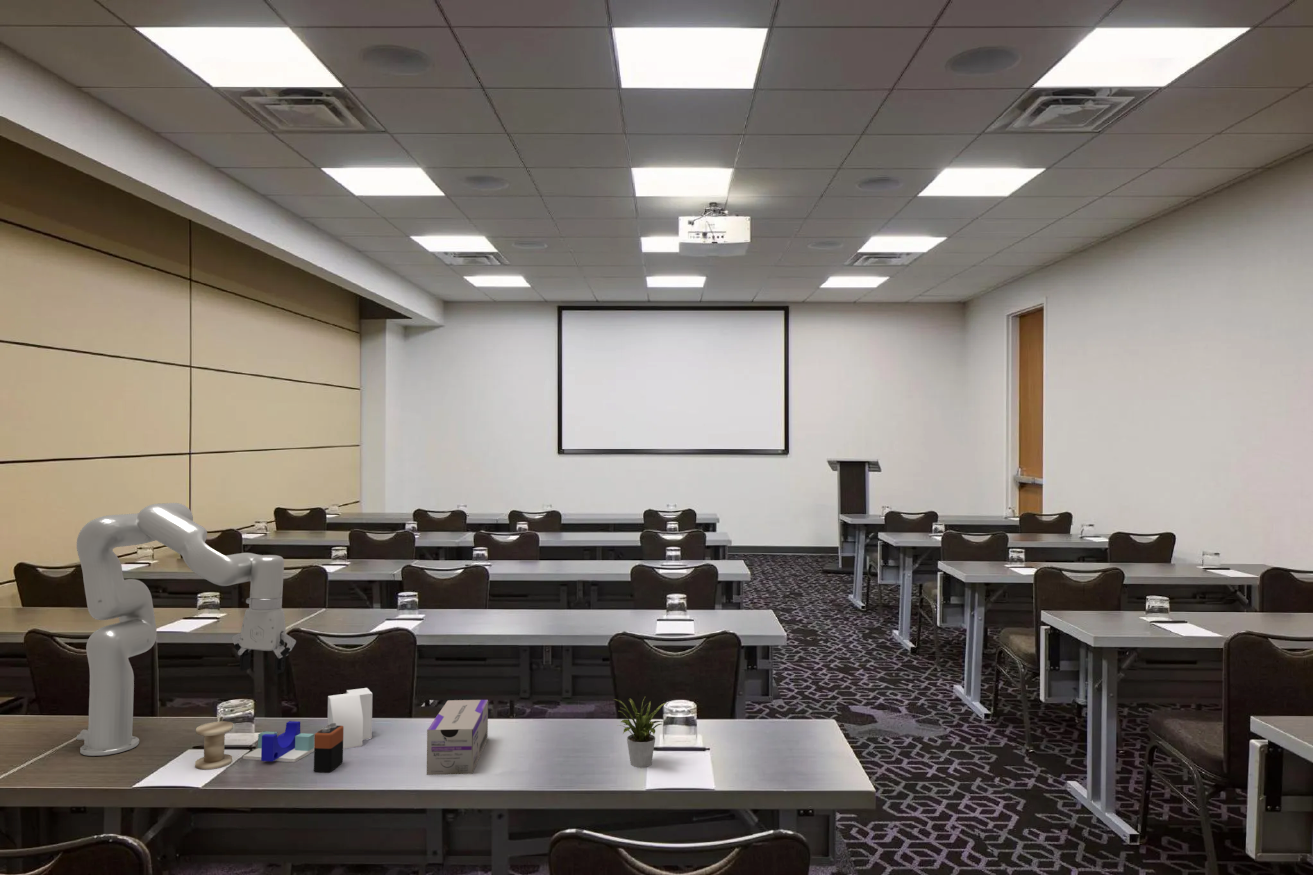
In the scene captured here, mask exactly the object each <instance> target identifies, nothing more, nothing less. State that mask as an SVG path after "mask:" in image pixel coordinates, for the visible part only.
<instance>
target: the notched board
mask: <svg viewBox="0 0 1313 875" xmlns="http://www.w3.org/2000/svg"><path fill="white" fill-rule="evenodd" d="M265 734H276V735H277V736H278V731H269V730H268V731H266V730H264V731H262V732H260V733H258V736H257V748H256V749H254V750H251V751H250V752H248V753H246V754H244V755H243V756H242V758H243V760H251V761H261V750H262V736H263V735H265ZM314 737H315V733H304V732H300V734H298V735H297V736H295V748H294V749H293V750H291V751H289V752H288V753H286V754H284V755H283V756H281V757H279V758H278V759H276V760H274V761H273V762H283V763H284V762H285V763H296V762H298V761H299V760H302V759H303V758H304V757H307V756H308V755H310V754H311V753H314Z"/></svg>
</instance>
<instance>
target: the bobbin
mask: <svg viewBox="0 0 1313 875" xmlns="http://www.w3.org/2000/svg"><path fill="white" fill-rule="evenodd" d="M233 729H234V723H233V722H231V721H213V722H208V723H204V724H201V725H198V726H197V727H196V729H195V735H197V736H203V756H202V757H200V758H199V759H196V760H195V762H194V768H195V769H197V770H205V771H206V770H216V769H220V768H224V767H227V766H229V765H231V764H232V763H233V756H232V754H228V753H225V740H226V737H225V736H226V733H229V732H231V731H232V730H233Z"/></svg>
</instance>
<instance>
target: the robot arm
mask: <svg viewBox="0 0 1313 875" xmlns="http://www.w3.org/2000/svg"><path fill="white" fill-rule="evenodd" d="M193 515H194V514H193V513H192V510H191V509H190V508H189V507H187V506H186V505H185V504H182V503H179V502H169V503H168V502H166V503H154V504H149V505H147V506H144V508H142V509H141V510H140V511H139V512H137V513H125V514H123V513H122V514H109V515H103V516H99V517H95V518H94V519H92V520H90V521H89V522H87V523H85V525H83V527H82V528H81V530H80V532H79V533H78V536H77V537H76V538H77V539H76V552H77V556H78V559H79V562H80V566H81V567H80V568H81V570H82V577H83V579H82V580H83V585H84V594H85V598H86V605H87V610H88V613H89V615H90V616H91V618H93V619H95V620H97V621H107V620H114V619H117V618H118V620H119V622H115V623H113V624H109V625H105V626H102V627H100V628H98V629H97V630H95V631H94V632H92V634H90V636H89V638H88V640H87V642H86V646H85V648H86V649H85V650H86V656H87V662H88V667H89V698H88V726H87V728H88V729H82V730H81V731H80V732H79V733H78V734H77V736H76V740H78V741H84V742H83V743H84V744H83V745H82V746H80V751H79V752H80V754H81V755H84V756H89V757H95V756H97V757H98V756H109V755H114V754H119V753H123V752H125V751H129V750H132V749H134V748H135V747H137V746H138V745H139V743H140V739H139V737H137V736H133V727H134V726H133V722H134V721H133V719H134V694H135V692H134V690H135V689H134V688H135V684H134V683H135V682H134V681H135V675H134V670H133V668H132V665H131V662H130V660H129V658H132V657H135V656H138V655H141V654H143V653H146V652H147V651H149V650H150V649H152V647H153V646H154V645H155V642H156V641H157V630H158V629H157V624H156V617H155V610H154V609H155V608H154V605H153V603H154V602H153V598H152V594H151V591H150V590H149V587H148V586H147V585H146V584H145V583H144V582H143V581H141V580H139V579H135V578H132V579H131V578H128V579H125V578H124V574H123V566H122V563H121V561H120V559H119V557H118V556H117V554H116V553H115V552H114V551H113V550H114V549H115V548H121V547H122V548H124V547H129V546H138V545H145V544H147V543H153V542H156V541H157V542H158V543H160V544H162V545H163V546H166V547H167V548H168V549H171V550H172V551H174V552H175V553H176V554H179V556H182V559H183V561H184V563H185V564H186V566H187V567H188V568H189V569H190V570H191V571H192V572H193V573H195V574H196V575H197V576H200V577H201V578H203V579H204V580H207V582H210V583H212V584H214V585H217V586H220V587H227V586H232V585H236V584H243V583H247V582H250V589H249V590H250V591H249V597H248V598H246V599H245V603H246V604H249V605H248V606H249V607H248V608H246V610H245V613H244V615H243V619H242V624H241V631H240V632H238V633H237V634H234V635H233V636H232V637H231V640H232V643H233V644H234V649H235V650H236V651H237V655H238V656H239V671H240V672H245V671H246V670H249V669H250V668H251V656H252V653H251V652H250V651H264V652H270V651H271V652H273V653H274V654H275V655H276V658H275V659H274V670H273V671H274V673H273V674H275V675H279V674H282V673H284V672H285V668H286V660H287V659H286V658H287V656H289V654H290V653H291V652H292V651H293V648H294V647H295V645H296V643H297V640H296V639H294V637H292V636H290V635H288V634H287V632H286V631H287V630H286V628H287V627H286V615H285V610H284V608H283V606H282V605H283V589H284V588H283V586H284V572H285V560H284V558H283V556H281V555H276V554H263V555H262V554H256V553H253V552H241V553H234V554H233V553H232V554H227V555H225V554H222V553H221V552H220V551H217V550H215V549H214V548H212V547H211V546H209V545H208V544H207V543H206V541H207V538H208V532H207V529H206V528H205V527H204V526H202V525H200V524H199V523H197V522H195V521H194V516H193ZM286 644H287V645H286ZM285 645H286V647H285Z"/></svg>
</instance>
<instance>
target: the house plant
mask: <svg viewBox="0 0 1313 875" xmlns="http://www.w3.org/2000/svg"><path fill="white" fill-rule="evenodd" d="M646 696H647V695H645V696H644V698H643V700H642V702H641V705H643V703H644V701H645V698H646ZM614 700H615V701H617V702H619V703H620V704H622V705H623V707H624V708H623V707H621V709H622V710H624V711H625V712H626V713H627V714H628V716H629V717H630V718H631V720H632V722H633V723H632V722H631V720H630V718H629V717H628V716H627V714H625V712H623V711H621V710H619V712H620V713H622V715H624V716H625V717H626V719H622V720H621V721H620V723H622V724H623V725H621V724H620V725H619V724H618V725H616V726H617V727H618V726H621V727H623V732H622V734H624V733H627V732H629V733H630V734H628V736H626V742H627V748H628V755H629V762H630V765H631V766H632V767H636V768H646V767H650V766H651V765H652V763H653V756H654V749H655V745H656V744H655V743H656V736H655V733H656V728H657V727H658V726H660V725H661V726H662V725H663V722H664V721H663V720H654V721H652V720H653V718H654V716H655V715H656V714H657V713H658V712H659V710H661V708H662V706H665V705H666V704H667V703H668V702H664V703H662V704H661V705H659V706H658V707H657V708H656V709H655V710H654V711H653V712H651V713H650V711H651V704H652V703H651V701H649V702H648V703H646V704H645V705H644V706H641V707H640V712H639V711H638V709H637V707H636V704H635V702H634V701H633V699H632V698H631V697H630V698H629V699H628V701H629V703H630V705H631V709H632V711H633V713H634V716H635V719H634V717H633V714H632V713H631V712H630V711H629V709H628V707H627V705H626V704H625V703H624V702H622V701H621V700H619V699H615V698H614ZM646 705H648V706H647V708H646V711H645V712H646V713H645V715H643V713H644V710H645V707H646ZM649 713H650V714H649ZM660 722H661V723H660ZM656 723H657V724H656ZM655 724H656V725H655ZM624 725H625V726H624ZM626 726H628V727H626Z"/></svg>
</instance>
